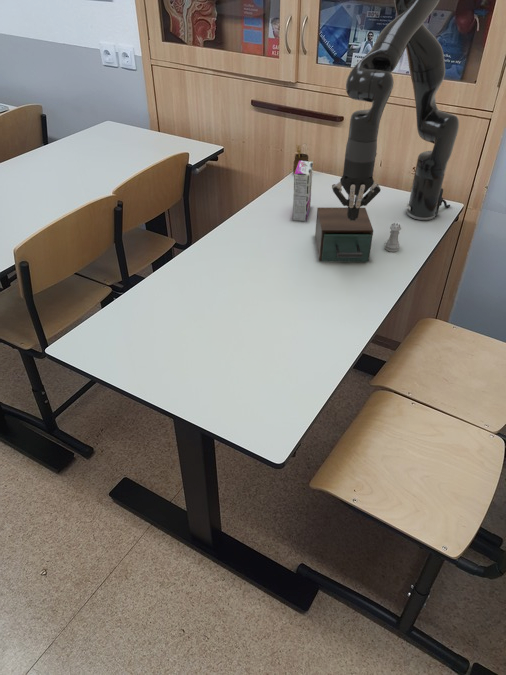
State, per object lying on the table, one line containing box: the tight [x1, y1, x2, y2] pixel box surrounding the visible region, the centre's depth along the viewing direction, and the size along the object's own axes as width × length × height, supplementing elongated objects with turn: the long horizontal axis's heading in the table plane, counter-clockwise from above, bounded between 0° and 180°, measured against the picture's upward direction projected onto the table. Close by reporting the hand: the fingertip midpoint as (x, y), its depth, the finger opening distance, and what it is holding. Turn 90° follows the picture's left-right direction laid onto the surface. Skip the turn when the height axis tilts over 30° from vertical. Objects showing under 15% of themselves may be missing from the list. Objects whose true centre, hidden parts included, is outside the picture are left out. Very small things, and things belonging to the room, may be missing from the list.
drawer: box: [321, 233, 373, 262], centre depth 156 cm, size 19×13×8 cm
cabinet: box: [314, 207, 374, 262], centre depth 160 cm, size 15×15×10 cm
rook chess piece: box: [384, 222, 402, 253], centre depth 161 cm, size 4×4×8 cm
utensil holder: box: [292, 144, 309, 174], centre depth 205 cm, size 6×6×12 cm
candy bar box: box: [292, 160, 314, 222], centre depth 176 cm, size 11×5×16 cm, turn 168°
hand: (352, 219), depth 144 cm, fingers closed
